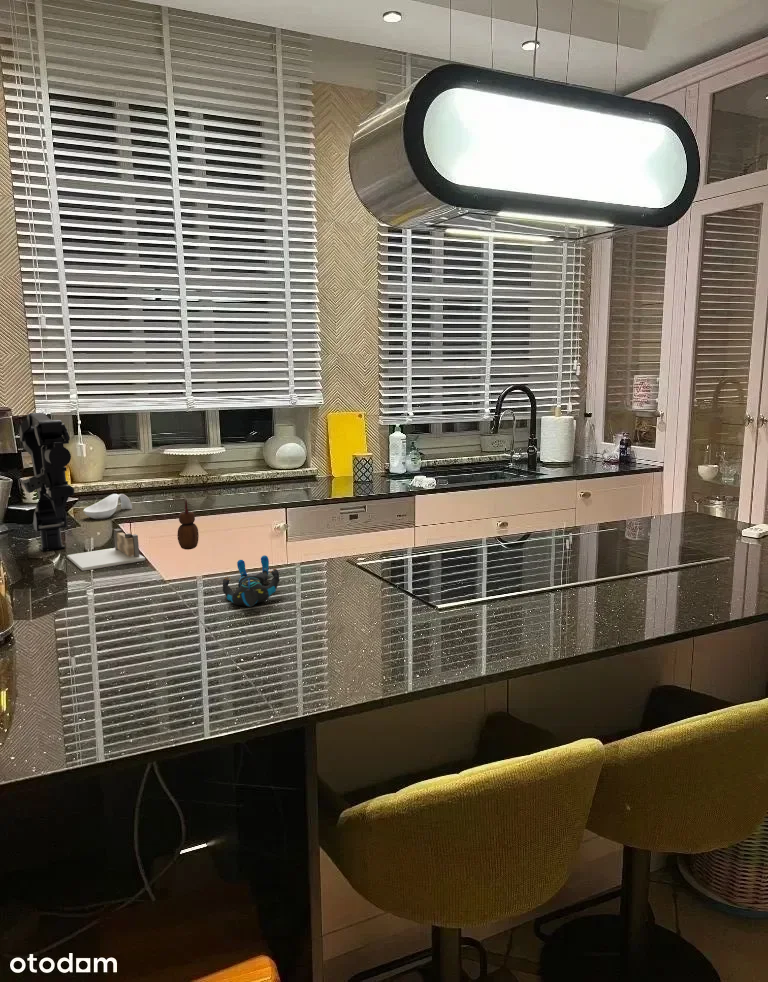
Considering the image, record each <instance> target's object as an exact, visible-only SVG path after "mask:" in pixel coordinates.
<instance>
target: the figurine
mask: <svg viewBox="0 0 768 982" xmlns="http://www.w3.org/2000/svg"><path fill="white" fill-rule="evenodd" d="M269 562H270V560H269V556H267V555H262V556H261V557H260V564H261V567H262V571H261V572H259V573H257V574H256V575H248V572H247V569H246V562H245V561H244V560H243V559H239V560H238V561H237V562H236V565H237V569H238V571H239V574H240V578H239V580H238V585H237V586H238V588H237V589H236V590H235V591H233V590H232V589H231V587H230V586H229V584H230V583H229V582H230V581H232V580H231V578H230V577H227V576H226V577H224V578H223V581H222V592H223V594H224V595H225V597H226V599H227V600H228V601H229V602H231V603H232V604H233V605H236V606H245V607H248V608H252V607H253V606H255V605H256V604H260V603H263V602H264V601H267V600H268V599H269V598H270V597H271V595H273V594H275V593H276V591H277V589H278V585H279V583H280V582H279V581H280V573H279V571H278V569H277V568H272V570H270V571H269V566H270V563H269ZM269 573H270V574H271V575H272V576H273V577H272V578H271V582H270V583H269V584H268V585H265V583H266V582H267V581H268V579H269Z"/></svg>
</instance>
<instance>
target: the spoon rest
mask: <svg viewBox="0 0 768 982" xmlns="http://www.w3.org/2000/svg"><path fill="white" fill-rule="evenodd" d="M119 499H120V509H122V510H131V509H133V504H132V502H131V500H130V498H129V497H128V496H127V495H126V494H124V493H120V494H117V493H112V494H110V495H108V496H106V497H104V498H103V499H101V500H100V501H97V502H95V503H94V504H91V505H89V506H87V507H85V508H84V509H83V513H84V514H85V515H86V516H87V517H89V518H90V519H94V520H103V519H108V518H111V516H112V515H113V514H114V513H115V512H116V510H117V509H118V504H119Z"/></svg>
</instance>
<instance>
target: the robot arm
mask: <svg viewBox="0 0 768 982" xmlns="http://www.w3.org/2000/svg"><path fill="white" fill-rule="evenodd" d="M18 434H19V435H18V436H19V441H20V442H22V445H23V449H24V450H25V451H26V452H27V453H28V454H29V455H30V457H31V462H32V469H33V474H34V475H32V476H31V477H28V478H26V479H24V480H23V481H21V482H22V484H23V487H24V489H25V491H26V492H27V493H29V494H30V493H31V494H32V493H33V492H35V491H37V496H38V501H37V503H36V505H35V507H34V512H33V530H34V531H36V532H40V540H41V541H40V543H41V545H39V546H38V548H39V549H40V550H41V551H42V552H45V551H52V550H59V549H65V548H66V545H64V544H63V543H62V533H61V529H62V528H63V529H64V528H65V529H66V528H67V526H68V525H67V524H68V521H67V518H68V517H67V516H68V513H67V511H66V510H65V508H66V505H67V503H68V500H69V498H70V497H71V496H75V495H76V494H75V488H74V487H73V486H71V485H70V484H69V482H68V480H67V478H66V477H67V475H66V472H67V467H66V466H67V465H68V464H69V463H70V462H71V459H72V455H71V452H70V451H69V449H67V448H66V447H64V445H67V444H69V443H70V439H71V438H70V434H69V431H68V428H67V426H66V425H65V423H64V422H62V420H61V419H51V418H50V417H48V416H47V414H46V413H45V412H33V413H31V412H30V413H28V414H27V416H26V419H25V420H24V421H23V422H21V423H20V425H19V433H18Z"/></svg>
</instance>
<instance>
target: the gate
mask: <svg viewBox="0 0 768 982" xmlns="http://www.w3.org/2000/svg"><path fill="white" fill-rule="evenodd" d="M114 532H116V535H117V546H118V549H119V550H120V551H122V552H123V553H125V554H127V555H128V556H134V545H133V538H132V535H133V534H132V533H129V532H128V533H124V532H123V529H121V528H113V533H114Z"/></svg>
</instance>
